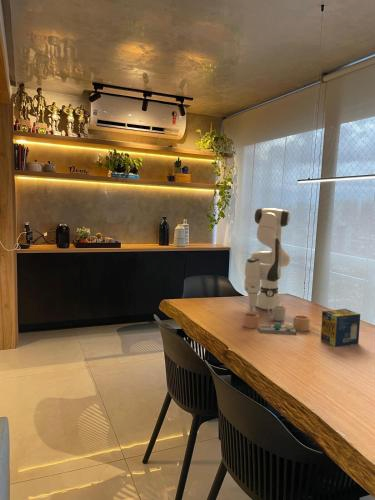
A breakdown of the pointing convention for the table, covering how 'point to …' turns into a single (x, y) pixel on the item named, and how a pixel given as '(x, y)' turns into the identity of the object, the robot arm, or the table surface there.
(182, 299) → the table surface
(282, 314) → the cup
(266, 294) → the robot arm
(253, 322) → the tube
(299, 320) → the tube
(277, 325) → the ball
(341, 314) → the protein box
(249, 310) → the ball
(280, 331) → the tray
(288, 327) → the ball
